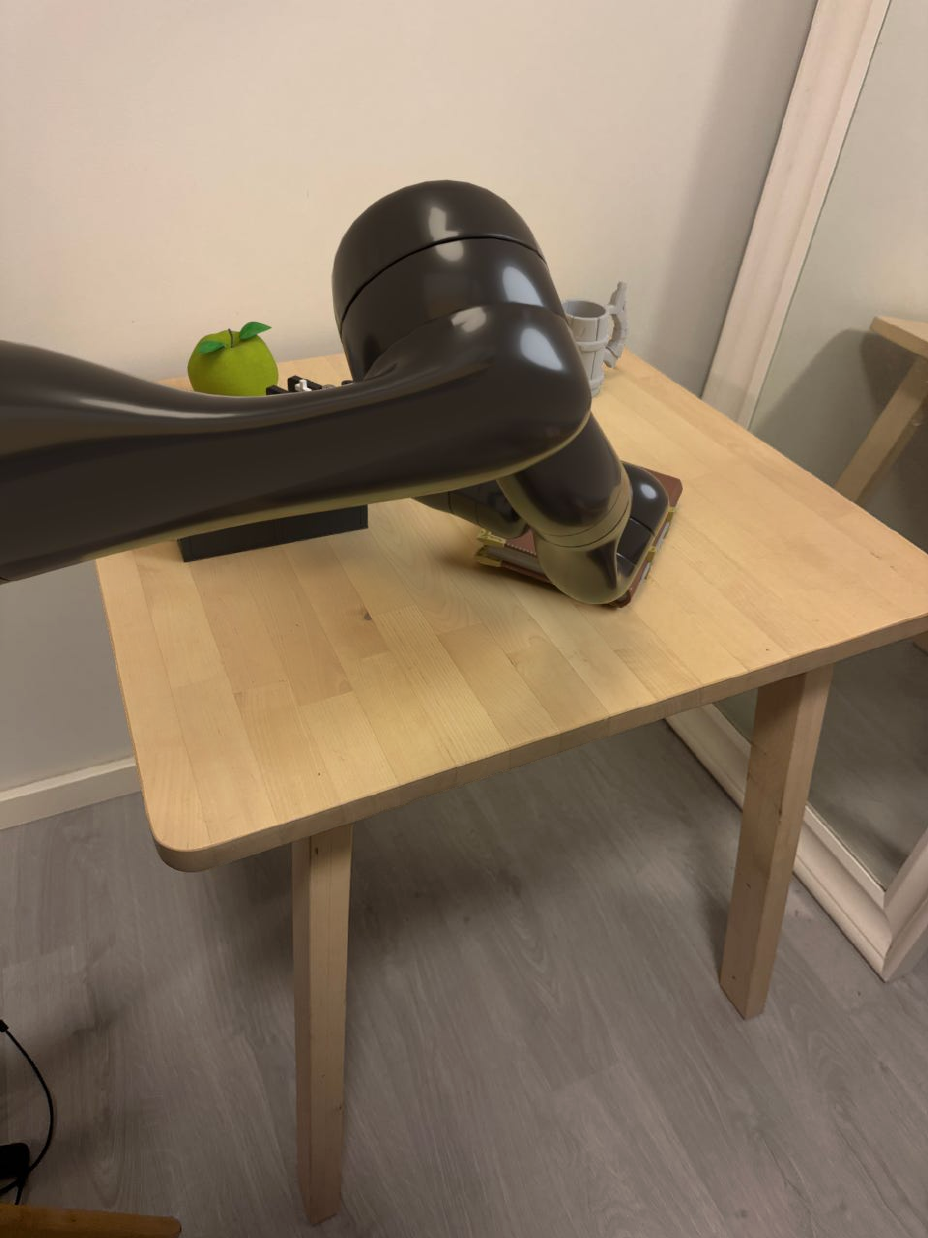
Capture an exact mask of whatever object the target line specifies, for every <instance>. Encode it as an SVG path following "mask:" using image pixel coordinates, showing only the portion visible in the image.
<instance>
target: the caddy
mask: <svg viewBox="0 0 928 1238" xmlns="http://www.w3.org/2000/svg"><path fill="white" fill-rule="evenodd" d="M368 528H369V504H367V505H361V506H354V507H348V508H342V509H335V510H329V511H322V512H316V513H309V514H303V515H296V516H290V517H284V518H278V519H272V520H266V521H260V522H255V523H250V524H245V525H239V526H234V527H229V528H225V529H220V530H215V531H211V532H206V533H201V534H197V535H192V536H188V537H184V538H180V539H176V542H177V545H178V548H179V551H180V555H181V557H182V561H183V563H186V562H187V563H188V562H192V561H197V560H203V559H208V558H213V557H218V556H225V555H230V554H234V553H235V554H236V553H240V552H245V551H251V550H257V549H262V548H267V547H272V546H277V545H283V544H289V543H294V542H299V541H305V540H311V539H316V538H320V537H326V536H331V535H336V534H342V533H346V532H348V533H349V532H353V531H359V530H363V529H364V530H365V529H368Z"/></svg>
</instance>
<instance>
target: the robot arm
mask: <svg viewBox="0 0 928 1238" xmlns="http://www.w3.org/2000/svg"><path fill="white" fill-rule="evenodd" d="M330 279H331V280H330V281H331V297H332V307H333V314H334V320H335V323H336V327H337V331H338V336H339V338H340V343H341V346H342V348H343V352H344V356H345V359H346V363H347V366H348V369H349V373H350V376H351V380H350V379H346V380H342V381H341V383H340V385H337V386H336V385H334V384H330V383H329V384H328V383H327V384H323V385H322V384H320V383H318V382H315V381H312V380H310V379H307V378H304V377H301V376H298V375H296V374H294V375H292V376H290V377H288V378H287V381H286V382H287V389H285V388H283V387H280V386H278V385H277V386H276V385H272V386H269V387H267V388H266V396H239V397H234V396H223V395H213V394H206V393H200V392H195V391H194V390H188V389H183V388H179V387H176V386H174V385H173V386H172V385H170V384H169V385H168V384H166V383H161V382H159V381H154V380H151V379H148V378H145V377H142V376H139V375H136V374H133V373H130V372H126V371H123V370H120V369H117V368H114V367H111V366H108V365H105V364H102V363H99V362H96V361H93V360H89V359H86V358H82V357H79V356H76V355H72V354H68V353H65V352H61V351H58V350H54V349H50V348H47V347H42V346H39V345H33V344H28V343H25V342H19V341H13V340H6V339H0V586H2V585H6V584H10V583H13V582H19V581H23V580H26V579H30V578H34V577H37V576H40V575H44V574H47V573H51V572H55V571H58V570H62V569H66V568H68V567H72V566H77V565H79V564H83V563H86V562H89V561H94V560H98V559H101V558H102V559H103V558H105V557H109V556H112V555H116V554H122V553H125V552H129V551H134V550H137V549H142V548H147V547H151V546H154V545H159V544H162V543H166V542H167V543H168V542H171V541H175V540H176V541H177V539H180V538H184V537H188V536H192V535H197V534H201V533H206V532H211V531H215V530H220V529H225V528H229V527H234V526H239V525H245V524H250V523H255V522H260V521H266V520H272V519H278V518H284V517H290V516H296V515H303V514H309V513H316V512H322V511H329V510H335V509H342V508H348V507H354V506H361V505H367V504H368V505H372V504H379V503H380V504H381V503H385V502H391V501H392V502H393V501H399V500H405V499H411V500H413V501H416V502H417V503H420V504H422V505H424V506H426V507H428V508H430V509H433V510H436V511H438V512H439V511H440V512H443V513H446V514H450V515H452V516H455V517H458V518H460V519H463V520H465V521H467V522H469V523H471V524H473V525H474V526H477V527H480V528H481V529H483V528H484V529H485V530H487V531H490V532H492V533H494V534H496V535H499V536H502V537H505V538H509V539H514V538H519V537H521V536H523V535H525V534H526V533H528V532H529V531H530V530H531V529H532V535H533V541H534V547H535V552H536V556H537V559H538V562H539V564H540V566H541V568H542V569H543V571H544V573H545V574H546V576H547V577H548V578H549V579H550V581H551V582H552V583H553V584H552V585H554V586H555V587H556V588H557V589H558V590H560V592H562V593H564V594H565V595H566V596H568V597H570V598H572V599H574V600H576V601H578V602H581V603H585V604H589V605H603V604H607V603H609V602H612V601H614V600H616V599H618V598H619V597H621V596H622V595H623V594H624V593H625V592H626V591H627V590H628V588H629V587H630V585H631V584H632V582H633V580H634V578H635V576H636V574H637V573H638V570H639V569H640V567H641V565H642V563H643V561H644V559H645V557H646V555H647V553H648V551H649V549H650V547H651V545H652V543H653V541H654V540H655V537H656V536H657V534H658V532H659V530H660V529H661V527H662V525H663V523H664V521H665V519H666V516H667V513H668V510H669V498H668V495H667V492H666V490H665V488H664V487H663V485H662V484H661V483H660V481H659V480H658V479H657V478H656V477H655V476H654V475H652V474H651V473H650V472H648V471H646V470H645V469H643V468H641V467H642V466H641V467H638V466H639V465H637V464H634V463H631V464H629V463H630V462H628V463H626V462H627V461H625V462H621V461H620V460H621V459H620V458H619V456H618V454H617V452H616V450H615V447H614V446H613V445H612V443H611V442H610V440H609V438H608V436H607V435H606V433H605V432H604V430H603V428H602V427H601V425H600V423H599V422H598V420H597V419H596V417H595V415H594V413H593V412H592V410H591V409H592V403H593V397H592V394H591V389H590V384H589V379H588V376H587V373H586V370H585V367H584V363H583V360H582V357H581V354H580V351H579V348H578V345H577V342H576V340H575V337H574V334H573V331H572V330H571V328H570V325H569V323H568V320H567V317H566V315H565V312H564V309H563V307H562V304H561V299H560V296H559V294H558V290H557V288H556V286H555V283H554V280H553V278H552V275H551V272H550V269H549V266H548V262H547V259H546V257H545V255H544V252H543V250H542V248H541V246H540V244H539V242H538V240H537V238H536V237H535V235H534V233H533V231H532V230H531V228H530V226H529V225H528V224H527V222H526V221H525V219H524V218H523V216H522V215H521V214H520V213H519V212H518V211H517V210H516V209H515V208H514V207H513V206H512V205H511V204H510V203H509V202H508V201H507V200H506V199H504V198H503V197H501V196H500V195H498V194H496V193H494V192H493V191H491V190H490V189H488V188H486V187H484V186H480V185H478V184H475V183H472V182H469V181H462V180H456V179H455V180H454V179H435V180H425V181H422V182H417V183H414V184H410V185H406V186H404V187H401V188H399V189H397V190H394V191H392V192H390V193H387V194H386V195H383V196H382V197H380V198H379V199H377V200H376V201H374V202H373V203H371V204H370V205H369V206H368V207H366V209H364V210H363V211H362V212H361V213H360V214H359V215H358V216H357V217H356V218H355V219H354V220H353V222H352V223H351V224H350V225H349V227H348V229H347V230H346V231H345V233H344V234H343V236H342V237H341V239H340V241H339V244H338V247H337V249H336V251H335V254H334V259H333V265H332V271H331V278H330ZM302 379H304V380H306V382H307V388H309V389H311V390H312V391H305V392H299V391H297V390H295V385H296V384H299V381H300V380H302ZM633 464H634V465H633ZM636 465H637V466H636Z"/></svg>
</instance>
